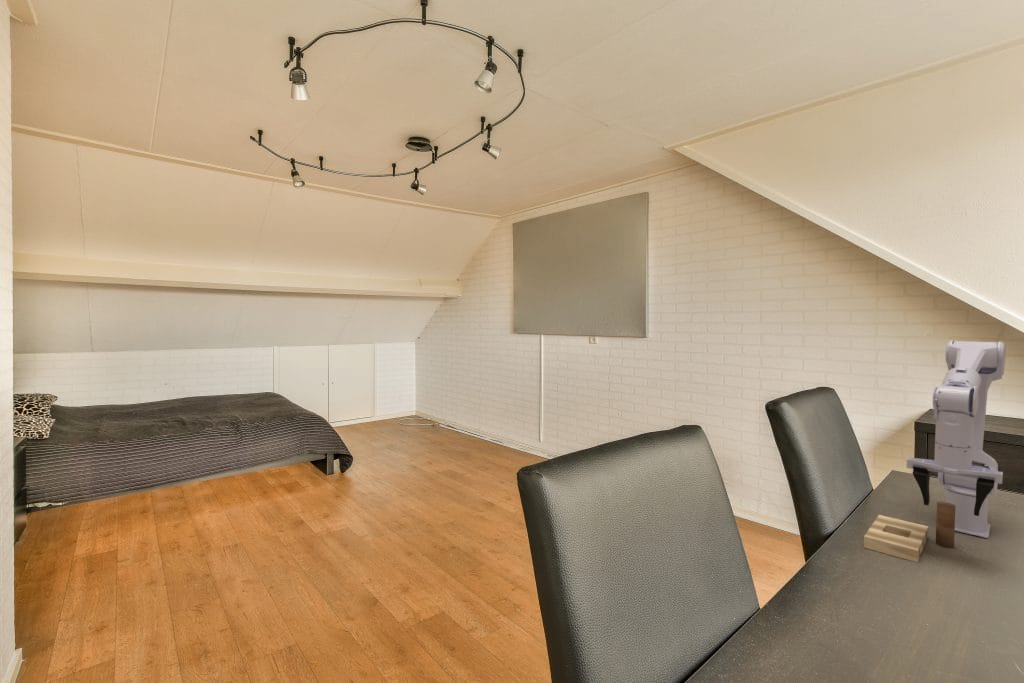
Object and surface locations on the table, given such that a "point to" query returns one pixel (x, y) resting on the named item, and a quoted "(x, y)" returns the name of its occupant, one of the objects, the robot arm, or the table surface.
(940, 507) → the peg
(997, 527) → the table surface
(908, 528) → the socket block
